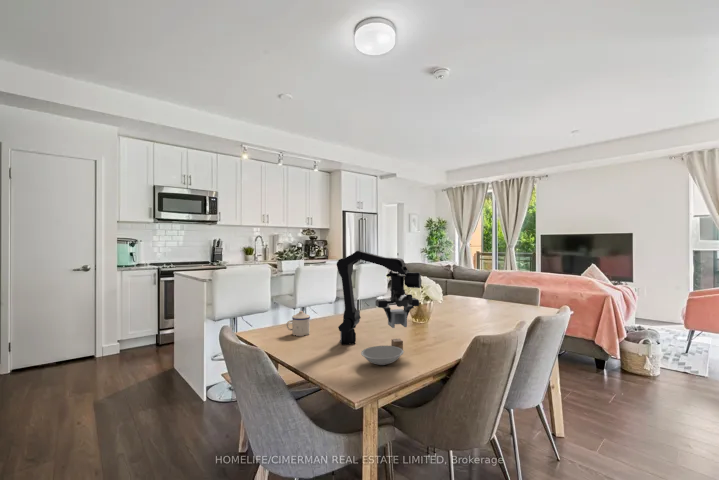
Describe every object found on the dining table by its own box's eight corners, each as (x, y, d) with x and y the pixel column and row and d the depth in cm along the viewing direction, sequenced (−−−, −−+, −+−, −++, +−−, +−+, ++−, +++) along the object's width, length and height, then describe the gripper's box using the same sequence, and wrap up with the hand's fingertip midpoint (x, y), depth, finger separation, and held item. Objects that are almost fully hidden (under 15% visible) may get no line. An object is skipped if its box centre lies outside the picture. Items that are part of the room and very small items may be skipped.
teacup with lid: (307, 330, 182) (307, 308, 182) (312, 335, 174) (312, 312, 174) (284, 333, 178) (284, 310, 178) (288, 338, 169) (288, 314, 169)
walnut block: (394, 350, 151) (394, 341, 151) (391, 347, 155) (391, 339, 155) (402, 350, 152) (402, 341, 152) (399, 347, 156) (400, 338, 156)
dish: (375, 375, 124) (375, 361, 124) (353, 363, 136) (353, 350, 136) (412, 365, 133) (412, 352, 133) (388, 355, 145) (388, 343, 145)
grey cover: (392, 327, 149) (392, 312, 149) (388, 324, 156) (388, 309, 156) (406, 327, 151) (407, 312, 151) (401, 323, 157) (401, 309, 157)
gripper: (382, 290, 143) (382, 327, 143) (424, 288, 147) (424, 325, 147) (375, 286, 154) (375, 321, 154) (414, 285, 158) (414, 319, 158)
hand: (397, 322), depth 153 cm, fingers closed on grey cover, 7 cm apart
